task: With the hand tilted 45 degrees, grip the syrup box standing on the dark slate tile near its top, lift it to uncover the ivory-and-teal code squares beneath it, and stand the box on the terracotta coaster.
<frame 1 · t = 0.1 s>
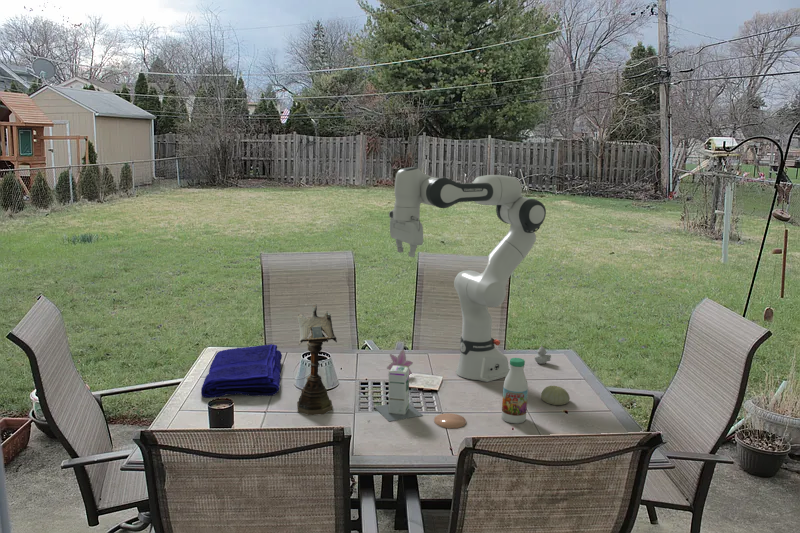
hand: (405, 254, 223), 48 cm above the table, tool pointing down, fingers open, 8 cm apart
sea urchin shell: (554, 402, 221), on the table
lily: (399, 376, 241), on the table
syrup box: (398, 411, 209), resting on code tile
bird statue: (318, 411, 208), on the table
towel: (245, 380, 234), on the table
coaster: (449, 421, 202), on the table
grey figurine: (542, 364, 259), on the table
code tile: (398, 411, 209), on the table
milk bottle: (513, 419, 206), on the table
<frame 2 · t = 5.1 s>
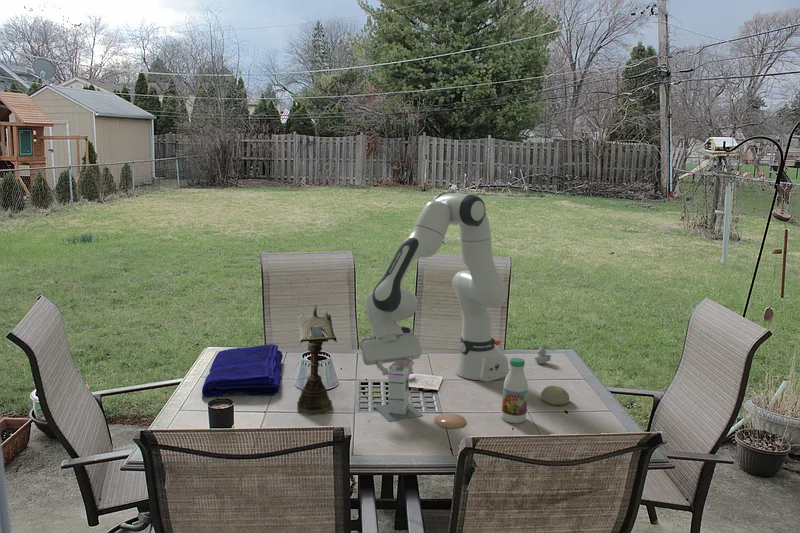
hand: (398, 372, 207), 13 cm above the table, tool tilted 45°, fingers closed on syrup box, 7 cm apart
syrup box: (398, 411, 209), resting on code tile, touching gripper
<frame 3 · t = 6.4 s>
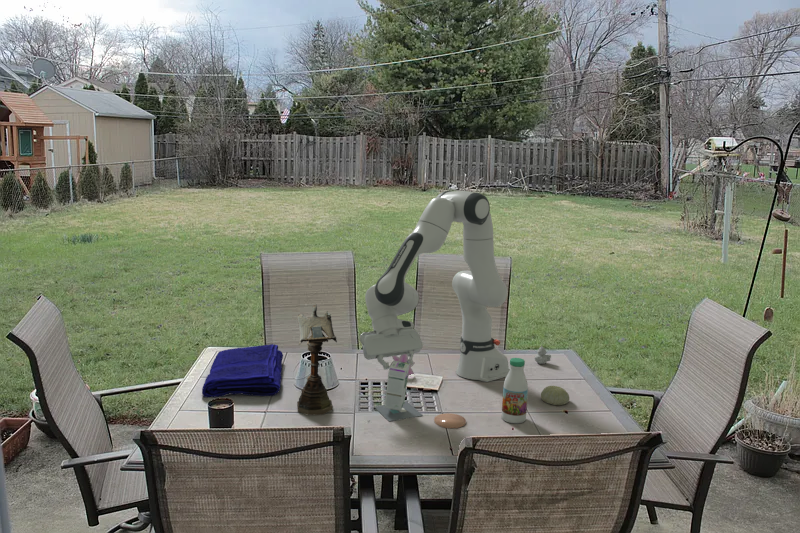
hand: (399, 366, 207), 15 cm above the table, tool tilted 45°, fingers closed on syrup box, 7 cm apart
syrup box: (393, 406, 209), point 2 cm above the table, touching gripper
everything else where it was.
when the fingers open (15 cm above the table, at t = 11.9 s): syrup box stays where it is, resting on coaster.
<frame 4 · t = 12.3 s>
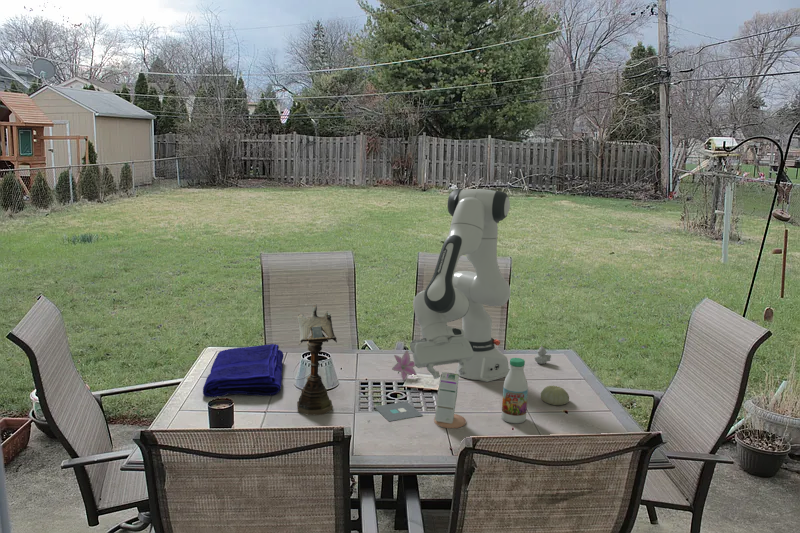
hand: (450, 375, 200), 15 cm above the table, tool tilted 45°, fingers open, 8 cm apart
syrup box: (443, 419, 202), point 1 cm above the table, touching coaster, gripper
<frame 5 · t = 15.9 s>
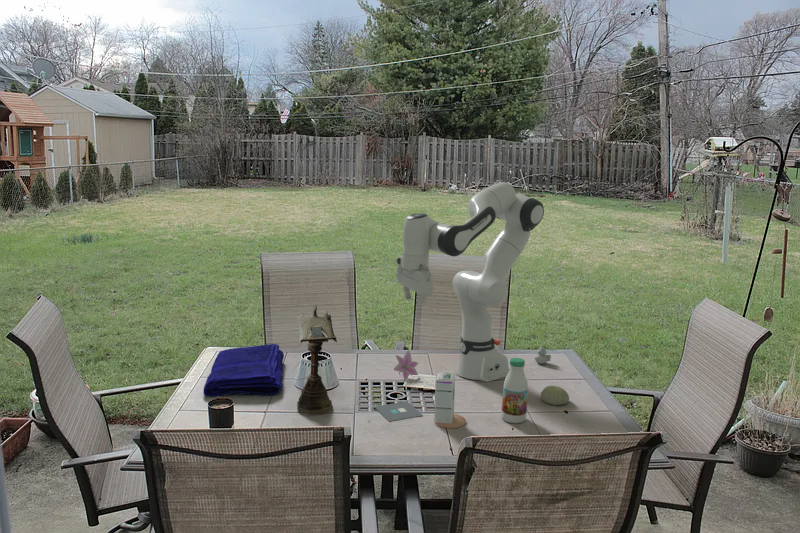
hand: (413, 302, 217), 33 cm above the table, tool pointing down, fingers open, 8 cm apart
syrup box: (443, 420, 202), resting on coaster
at the end: syrup box inside the target area on the coaster (1.9 cm from its centre), point 0.3 cm above the coaster's base; syrup box tilted 0°; syrup box touching coaster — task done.
